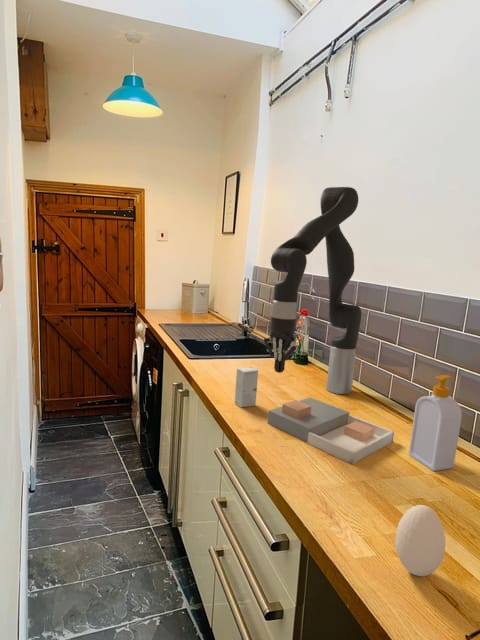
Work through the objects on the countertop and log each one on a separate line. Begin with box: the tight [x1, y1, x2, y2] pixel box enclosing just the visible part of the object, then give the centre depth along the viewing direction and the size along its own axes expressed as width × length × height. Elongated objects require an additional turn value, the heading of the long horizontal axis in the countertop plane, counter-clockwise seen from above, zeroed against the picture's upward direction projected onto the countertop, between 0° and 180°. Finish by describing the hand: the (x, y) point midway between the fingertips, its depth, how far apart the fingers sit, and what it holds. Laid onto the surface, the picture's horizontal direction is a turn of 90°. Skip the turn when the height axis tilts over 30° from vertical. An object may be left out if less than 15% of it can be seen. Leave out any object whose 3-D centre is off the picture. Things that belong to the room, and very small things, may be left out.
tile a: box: [344, 421, 375, 442], centre depth 117 cm, size 6×6×2 cm
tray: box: [307, 414, 395, 466], centre depth 114 cm, size 21×14×3 cm, turn 133°
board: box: [267, 397, 350, 443], centre depth 124 cm, size 20×15×4 cm
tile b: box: [281, 399, 311, 419], centre depth 122 cm, size 6×6×2 cm
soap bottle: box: [408, 374, 463, 472], centre depth 104 cm, size 9×7×23 cm
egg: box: [394, 504, 446, 577], centre depth 67 cm, size 7×7×12 cm
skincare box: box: [234, 366, 259, 408], centre depth 136 cm, size 6×4×12 cm
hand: (278, 371), depth 126 cm, fingers closed
